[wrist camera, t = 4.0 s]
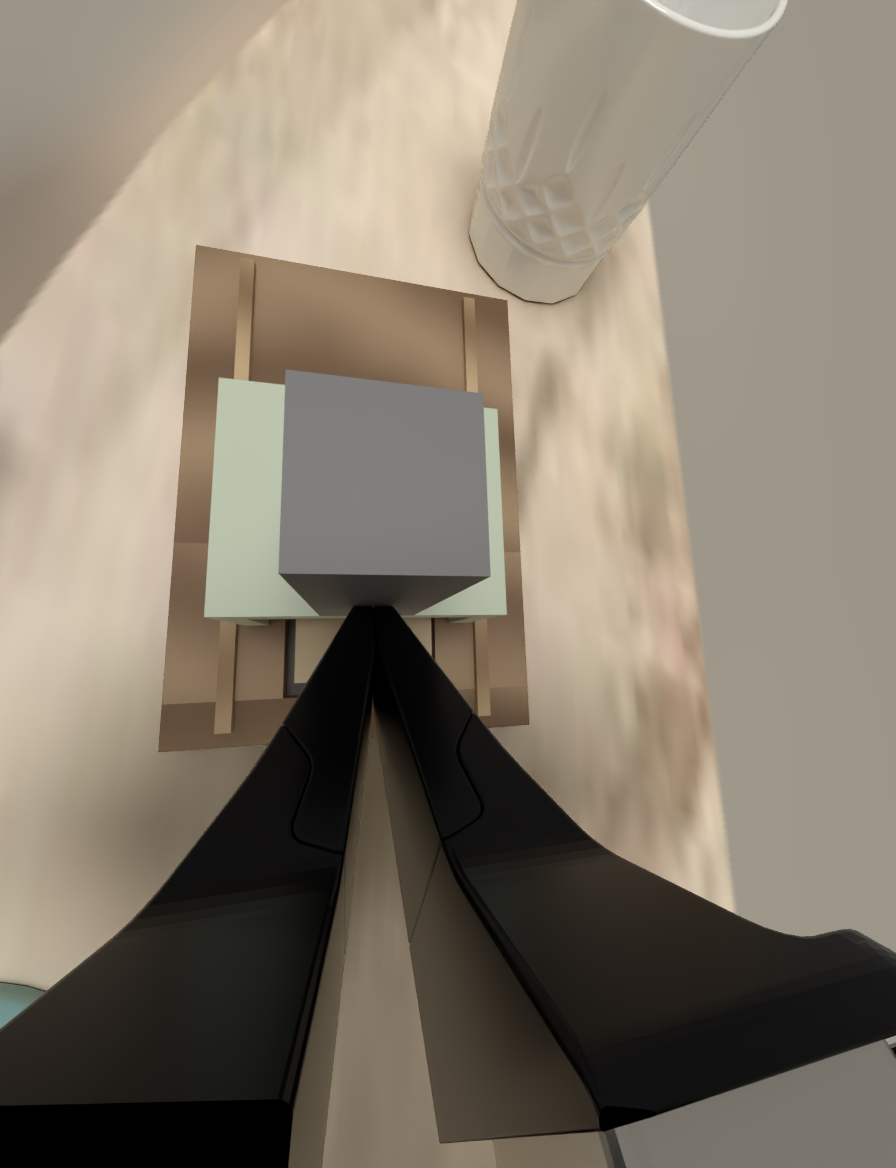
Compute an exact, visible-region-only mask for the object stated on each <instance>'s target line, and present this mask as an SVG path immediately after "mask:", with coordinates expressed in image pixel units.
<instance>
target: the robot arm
mask: <svg viewBox="0 0 896 1168" xmlns="http://www.w3.org/2000/svg"><path fill="white" fill-rule="evenodd" d="M372 702H373V709H374V717H375V724H376V730H377V737H378V743H379V750H380V756H381V763H382V769H383V776H384V782H385V789H386V795H387V802H388V809H389V815H390V822H391V828H392V835H393V841H394V848H395V854H396V861H397V867H398V874H399V880H400V887H401V894H402V900H403V907H404V913H405V920H406V926H407V933H408V939H409V943H410V953H411V959H412V966H413V973H414V979H415V986H416V992H417V999H418V1005H419V1012H420V1018H421V1025H422V1031H423V1038H424V1044H425V1051H426V1057H427V1064H428V1070H429V1077H430V1083H431V1090H432V1097H433V1103H434V1110H435V1116H436V1123H437V1129H438V1136H439V1142H440V1143H453V1142H467V1141H481V1140H493V1146H494V1152H495V1159H496V1165H497V1168H896V1043H893V1044H890V1045H888V1043H887V1042H886V1040H885V1039H887V1038H890V1037H892V1036H895V1035H896V953H895V952H893V951H892V950H890V949H889V948H886V947H884V946H883V945H881V944H879V943H877V942H876V941H874V940H872V939H871V938H869V937H867V936H865V935H864V934H862V933H860V932H858V931H856V930H852V929H843V930H837V931H832V932H828V933H824V934H820V935H816V936H809V937H808V936H805V937H800V936H795V935H789V934H784V933H781V932H778V931H774V930H771V929H768V928H765V927H762V926H760V925H758V924H756V923H753V922H751V921H748V920H746V919H744V918H742V917H740V916H738V915H736V914H734V913H732V912H730V911H728V910H726V909H724V908H722V907H720V906H718V905H716V904H714V903H712V902H710V901H708V900H706V899H704V898H702V897H700V896H698V895H696V894H694V893H692V892H690V891H688V890H686V889H684V888H682V887H680V886H678V885H676V884H674V883H672V882H670V881H668V880H666V879H664V878H662V877H660V876H658V875H656V874H654V873H651V872H649V871H647V870H645V869H643V868H641V867H639V866H637V865H635V864H633V863H631V862H629V861H627V860H625V859H623V858H621V857H620V856H618V855H616V854H614V853H613V852H611V851H609V850H608V849H606V848H605V847H603V846H602V845H601V844H599V843H598V842H597V841H595V840H594V839H593V838H592V837H590V836H589V835H588V834H587V833H586V832H585V831H583V830H582V829H581V828H580V827H579V826H578V825H577V824H576V823H575V822H574V821H573V820H572V819H571V818H570V817H569V816H568V815H567V814H566V813H565V811H564V810H563V809H562V808H561V807H560V806H559V805H558V804H557V803H556V802H555V801H554V800H553V799H552V798H551V797H550V796H549V795H548V794H547V793H546V792H545V791H544V790H543V789H542V788H541V787H540V786H539V785H538V784H537V783H536V782H535V780H534V779H533V778H532V777H531V776H530V775H529V774H528V773H527V772H526V771H525V770H524V769H523V768H522V767H521V766H520V765H519V764H518V763H517V762H516V760H515V759H514V758H513V757H512V756H511V755H510V754H509V753H508V752H507V751H506V750H505V749H504V747H503V746H502V745H501V744H500V743H499V741H498V740H497V739H496V738H495V737H494V735H493V734H492V733H491V732H490V730H489V729H488V728H487V727H486V726H485V724H484V723H483V722H482V720H481V719H480V718H479V716H478V715H477V714H476V713H473V712H474V711H473V709H472V708H471V706H470V705H469V704H468V702H467V701H466V700H465V698H464V697H463V696H462V695H461V693H460V692H459V691H458V689H457V688H456V687H455V686H454V684H453V683H452V682H451V680H450V679H449V678H448V676H447V675H446V674H445V673H444V671H443V670H442V669H441V667H440V666H439V665H438V664H437V662H436V661H435V660H434V658H433V657H432V656H431V655H430V653H429V652H428V651H427V649H426V648H425V647H424V645H423V644H422V643H421V642H420V640H419V639H418V638H417V636H416V635H415V634H414V633H413V631H412V630H411V629H410V627H409V626H408V625H407V623H406V622H405V621H404V620H403V618H402V617H401V616H400V614H399V613H398V612H397V611H396V609H395V608H394V607H393V606H374V608H373V607H372V606H353V607H352V608H351V610H350V612H349V613H348V615H347V617H346V618H345V620H344V622H343V623H342V625H341V626H340V628H339V630H338V631H337V633H336V635H335V636H334V638H333V640H332V641H331V643H330V645H329V646H328V648H327V649H326V651H325V653H324V654H323V656H322V658H321V659H320V661H319V663H318V664H317V666H316V668H315V669H314V671H313V673H312V674H311V676H310V677H309V679H308V681H307V682H306V684H305V686H304V687H303V689H302V691H301V692H300V694H299V696H298V697H297V699H296V700H295V702H294V704H293V705H292V707H291V709H290V710H289V712H288V714H287V715H286V717H285V719H284V720H283V722H282V725H281V726H280V727H279V728H278V730H277V731H276V733H275V735H274V736H273V738H272V740H271V741H270V743H269V744H268V746H267V747H266V749H265V751H264V752H263V754H262V755H261V757H260V758H259V760H258V761H257V763H256V764H255V766H254V767H253V769H252V770H251V772H250V773H249V774H248V776H247V777H246V778H245V780H244V781H243V782H242V784H241V785H240V787H239V788H238V789H237V791H236V792H235V793H234V795H233V796H232V797H231V799H230V800H229V801H228V803H227V804H226V805H225V806H224V808H223V809H222V810H221V812H220V813H219V814H218V815H217V817H216V818H215V819H214V821H213V822H212V823H211V824H210V826H209V827H208V828H207V830H206V831H205V832H204V833H203V835H202V836H201V837H200V839H199V840H198V841H197V842H196V844H195V845H194V846H193V848H192V849H191V850H190V851H189V853H188V854H187V855H186V856H185V858H184V859H183V860H182V862H181V863H180V864H179V865H178V867H177V868H176V869H175V871H174V872H173V873H172V874H171V876H170V877H169V878H168V879H167V881H166V882H165V883H164V884H163V886H162V887H161V888H160V889H159V891H158V892H157V893H156V894H155V895H154V896H153V898H152V899H151V900H150V901H149V902H148V903H147V904H146V906H145V907H144V908H143V909H142V910H141V911H140V912H139V913H138V914H137V915H136V916H135V917H134V918H133V919H132V920H131V921H130V922H129V923H128V924H127V925H126V926H125V927H124V928H123V929H122V930H120V931H119V932H118V933H117V934H116V935H115V936H114V937H113V938H111V939H110V940H109V941H108V942H107V943H105V944H104V945H103V946H102V947H100V948H99V949H98V950H97V951H96V952H94V953H93V954H92V955H91V956H89V957H88V958H87V959H86V960H84V961H83V962H82V963H81V964H79V965H78V966H77V967H76V968H75V969H73V970H72V971H71V972H70V973H68V974H67V975H66V976H65V977H63V978H62V979H61V980H60V981H58V982H57V983H56V984H55V985H53V986H52V987H51V988H50V989H49V990H47V991H46V992H45V993H44V994H42V995H41V996H40V997H39V998H37V999H36V1000H35V1001H34V1002H32V1003H31V1004H30V1005H29V1006H28V1007H26V1008H25V1009H24V1010H23V1011H21V1012H20V1013H19V1014H18V1015H16V1016H15V1017H14V1018H13V1019H11V1020H10V1021H9V1022H8V1023H6V1024H5V1025H4V1026H3V1027H2V1028H0V1168H322V1161H323V1152H324V1142H325V1133H326V1124H327V1115H328V1106H329V1097H330V1088H331V1079H332V1070H333V1061H334V1052H335V1043H336V1034H337V1025H338V1015H339V1006H340V997H341V988H342V979H343V970H344V961H345V952H346V943H347V934H348V925H349V916H350V906H351V897H352V888H353V879H354V870H355V861H356V852H357V843H358V834H359V825H360V816H361V807H362V798H363V789H364V779H365V770H366V761H367V752H368V743H369V734H370V725H371V716H372Z"/></svg>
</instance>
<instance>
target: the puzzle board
mask: <svg viewBox="0 0 896 1168" xmlns="http://www.w3.org/2000/svg"><path fill="white" fill-rule="evenodd" d="M286 370H295V371H303V372H311V373H319V374H327V375H336V376H344V377H352V378H360V379H369V380H377V381H385V382H393V383H402V384H410V385H418V386H426V387H434V388H443V389H451V390H459V391H467V392H476V393H483V401H484V408H492V409H497V412H498V433H499V455H500V477H501V498H502V520H503V542H504V564H505V585H506V607H507V615H502V616H498V617H493V618H488V619H483V620H479V621H474V622H469V623H449V617H443V618H431V640H432V657H433V658H434V660H435V661H436V662H437V664H438V665H439V666H440V667H441V669H442V670H443V671H444V673H445V674H446V675H447V676H448V678H449V679H450V680H451V682H452V683H453V684H454V686H455V687H456V688H457V689H458V691H459V692H460V693H461V695H462V696H463V697H464V698H465V700H466V701H467V702H468V704H469V705H470V706H471V708H472V709H473V711H474V712H473V713H476V714H477V715H478V716H479V718H480V719H481V720H482V722H483V723H484V724H485V726H486V727H487V728H490V727H503V726H517V725H529V710H528V691H527V672H526V653H525V633H524V614H523V595H522V576H521V557H520V537H519V518H518V499H517V480H516V461H515V441H514V422H513V403H512V384H511V364H510V345H509V326H508V307H507V300H502V299H496V298H490V297H485V296H479V295H474V294H468V293H462V292H457V291H451V290H446V289H440V288H434V287H429V286H423V285H418V284H412V283H406V282H401V281H395V280H390V279H384V278H378V277H373V276H367V275H362V274H356V273H350V272H345V271H339V270H333V269H328V268H322V267H317V266H311V265H305V264H300V263H294V262H289V261H283V260H277V259H272V258H266V257H261V256H255V255H249V254H244V253H238V252H233V251H227V250H221V249H216V248H210V247H205V246H199V245H196V253H195V266H194V280H193V293H192V307H191V320H190V334H189V347H188V360H187V374H186V387H185V401H184V414H183V428H182V441H181V455H180V468H179V481H178V495H177V508H176V522H175V535H174V549H173V562H172V576H171V589H170V602H169V616H168V629H167V643H166V656H165V670H164V683H163V697H162V710H161V723H160V737H159V750H158V752H168V751H181V750H195V749H208V748H222V747H235V746H248V745H262V744H269V743H270V741H271V740H272V738H273V736H274V735H275V733H276V731H277V730H278V728H279V727H280V726H281V725H282V722H283V720H284V719H285V717H286V715H287V714H288V712H289V710H290V709H291V707H292V705H293V704H294V702H295V700H296V699H297V697H298V696H299V694H300V692H301V691H302V689H303V687H304V686H305V684H306V683H294V674H295V639H296V619H269V625H260V626H245V625H240V624H235V623H230V622H225V621H221V620H216V619H211V618H206V617H204V609H205V593H206V577H207V561H208V544H209V528H210V512H211V496H212V479H213V463H214V447H215V431H216V415H217V398H218V382H219V378H228V379H236V380H245V381H254V382H263V383H272V384H280V385H285V375H286ZM369 736H377V730H376V724H375V717H374V709H373V702H372V716H371V725H370V734H369Z"/></svg>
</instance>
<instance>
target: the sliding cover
mask: <svg viewBox="0 0 896 1168" xmlns="http://www.w3.org/2000/svg"><path fill="white" fill-rule="evenodd" d="M353 606H372V607H373V608H374V606H393V607H394V608H395V609H396V611H397V612H398V613H399V614H400V616H401V617H402V618H443V617H449V623H469V622H474V621H479V620H483V619H488V618H493V617H498V616H502V615H507V607H506V585H505V564H504V542H503V520H502V498H501V477H500V455H499V433H498V412H497V409H492V408H484V401H483V393H476V392H467V391H459V390H451V389H443V388H434V387H426V386H418V385H410V384H402V383H393V382H385V381H377V380H369V379H360V378H352V377H344V376H336V375H327V374H319V373H311V372H303V371H295V370H286V375H285V385H280V384H272V383H263V382H254V381H245V380H236V379H228V378H219V382H218V398H217V415H216V431H215V447H214V463H213V479H212V496H211V512H210V528H209V544H208V561H207V577H206V593H205V609H204V617H206V618H211V619H216V620H221V621H225V622H230V623H235V624H240V625H245V626H260V625H269V619H339V618H346V617H347V615H348V613H349V612H350V610H351V608H352V607H353Z"/></svg>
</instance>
